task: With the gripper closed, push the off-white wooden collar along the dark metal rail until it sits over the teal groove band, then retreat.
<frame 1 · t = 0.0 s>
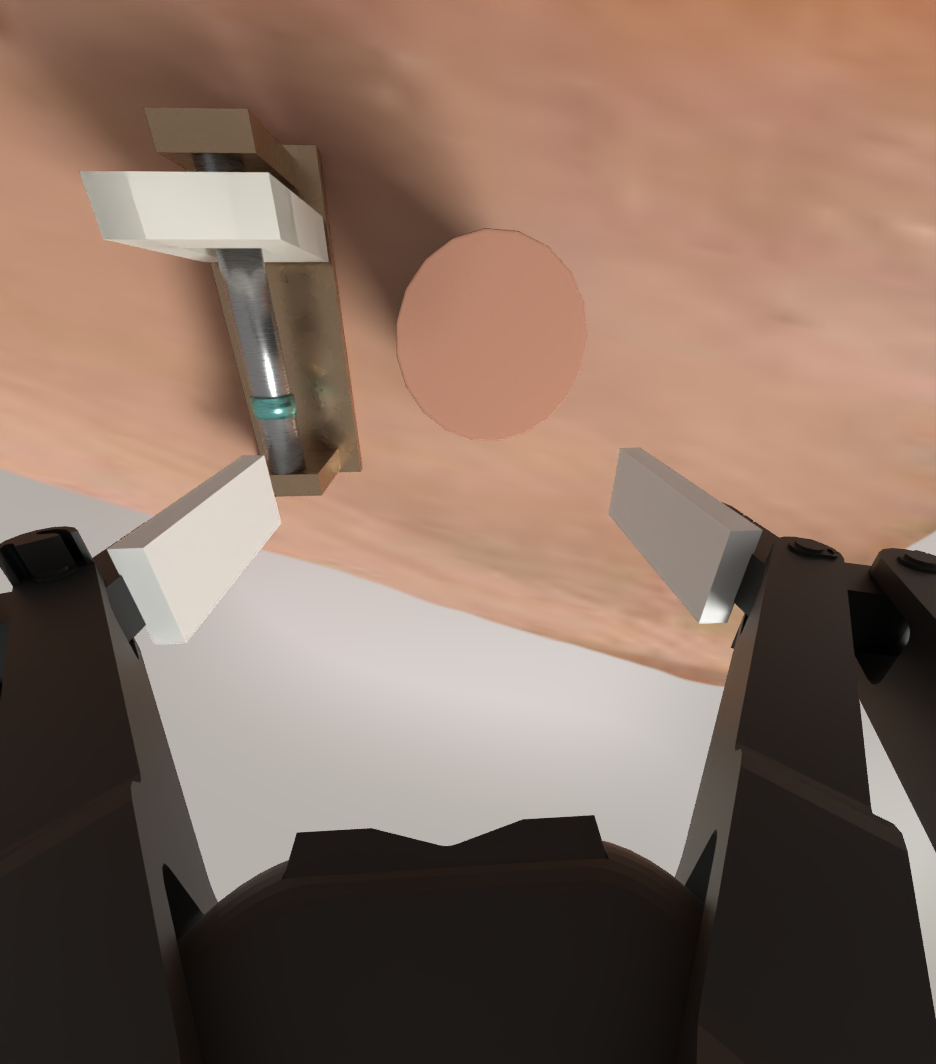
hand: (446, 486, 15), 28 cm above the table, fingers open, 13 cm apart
rail: (289, 335, 37), on the table
collar: (230, 226, 27), point 8 cm above the table, slide at -7.0 cm
coffee jar: (472, 334, 38), on the table
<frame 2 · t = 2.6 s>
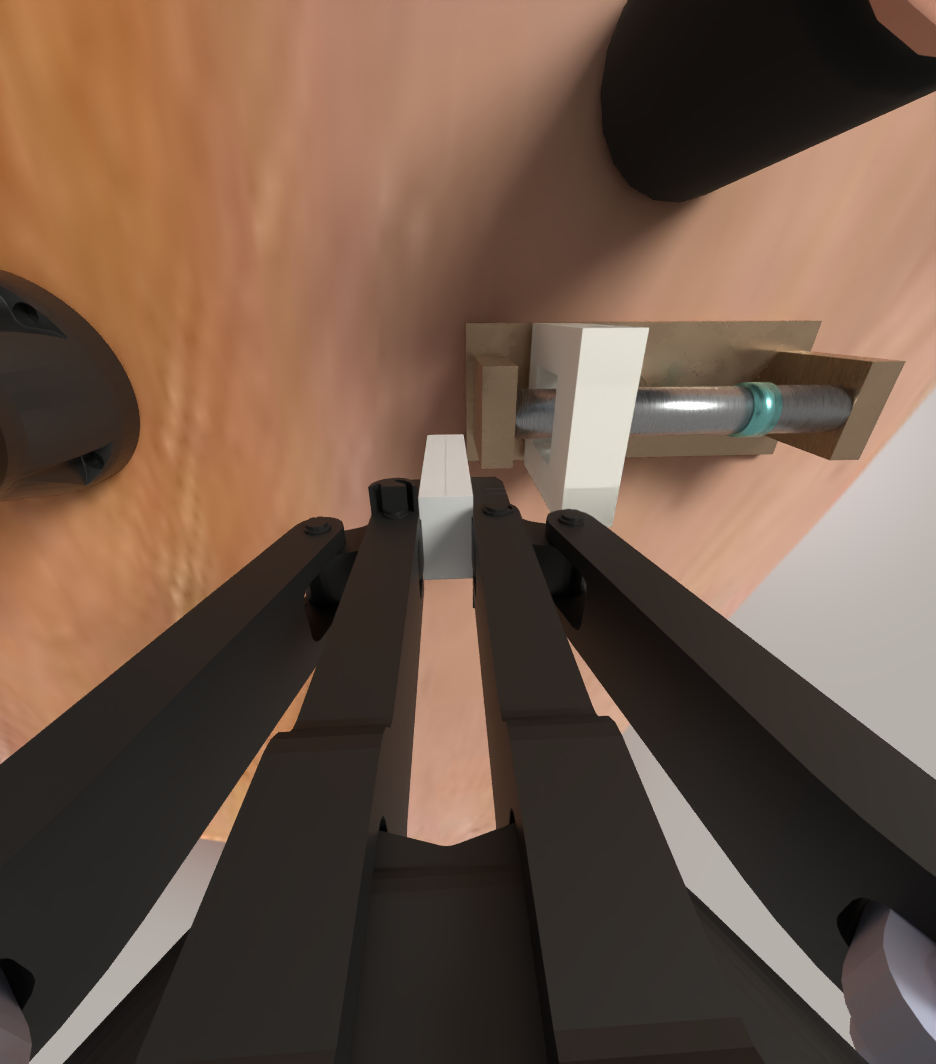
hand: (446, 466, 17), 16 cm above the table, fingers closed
rail: (629, 392, 32), on the table
collar: (568, 415, 25), point 8 cm above the table, slide at -7.0 cm
coffee jar: (680, 95, 24), on the table
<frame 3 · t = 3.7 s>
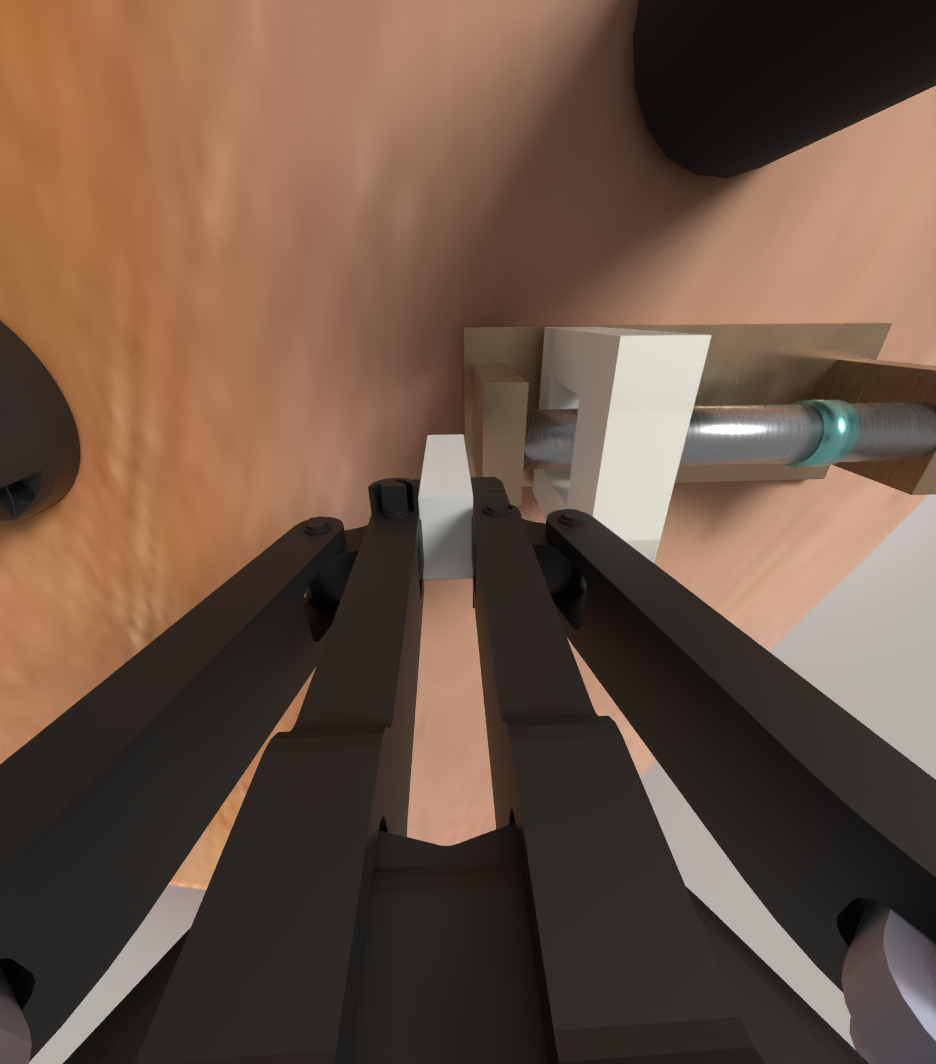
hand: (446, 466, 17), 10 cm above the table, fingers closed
rail: (657, 408, 27), on the table
collar: (590, 441, 20), point 8 cm above the table, slide at -7.0 cm
coffee jar: (731, 42, 19), on the table
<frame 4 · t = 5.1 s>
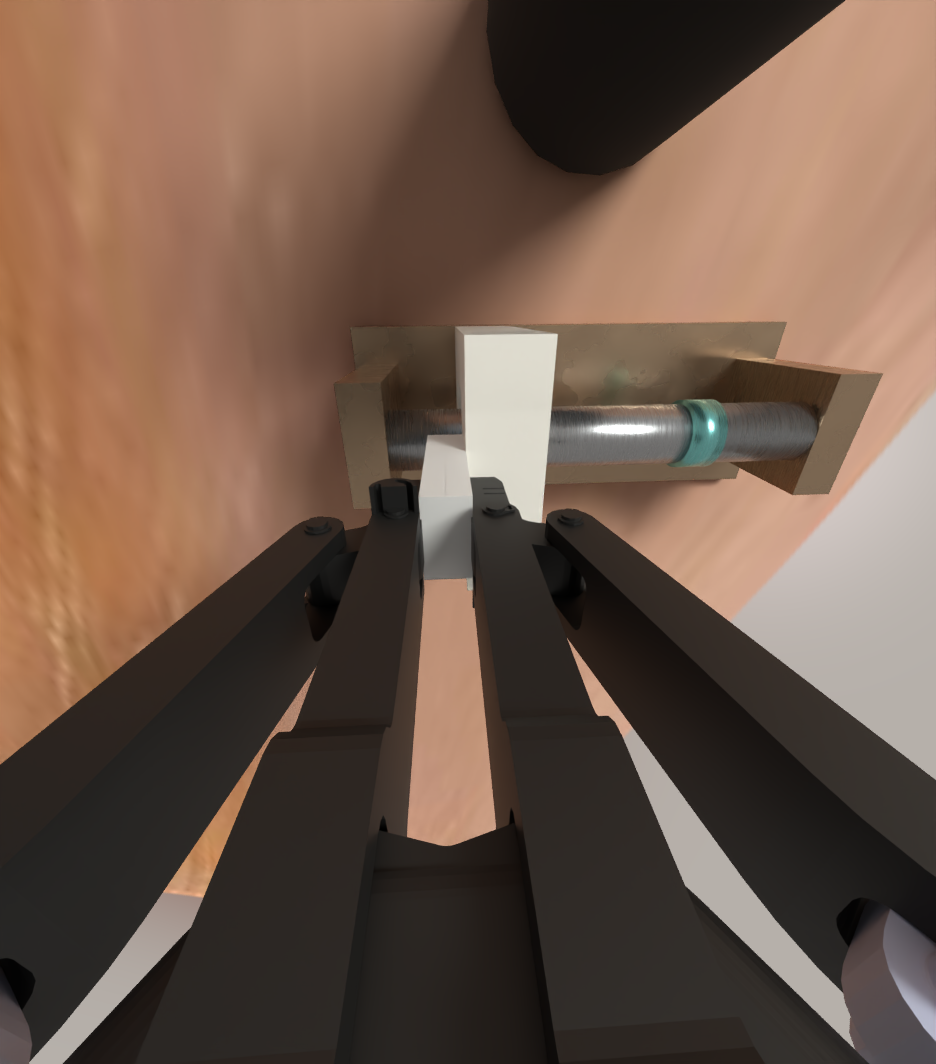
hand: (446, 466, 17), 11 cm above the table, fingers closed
rail: (560, 408, 27), on the table
collar: (490, 441, 20), point 8 cm above the table, slide at -5.5 cm, touching gripper
coffee jar: (595, 38, 19), on the table
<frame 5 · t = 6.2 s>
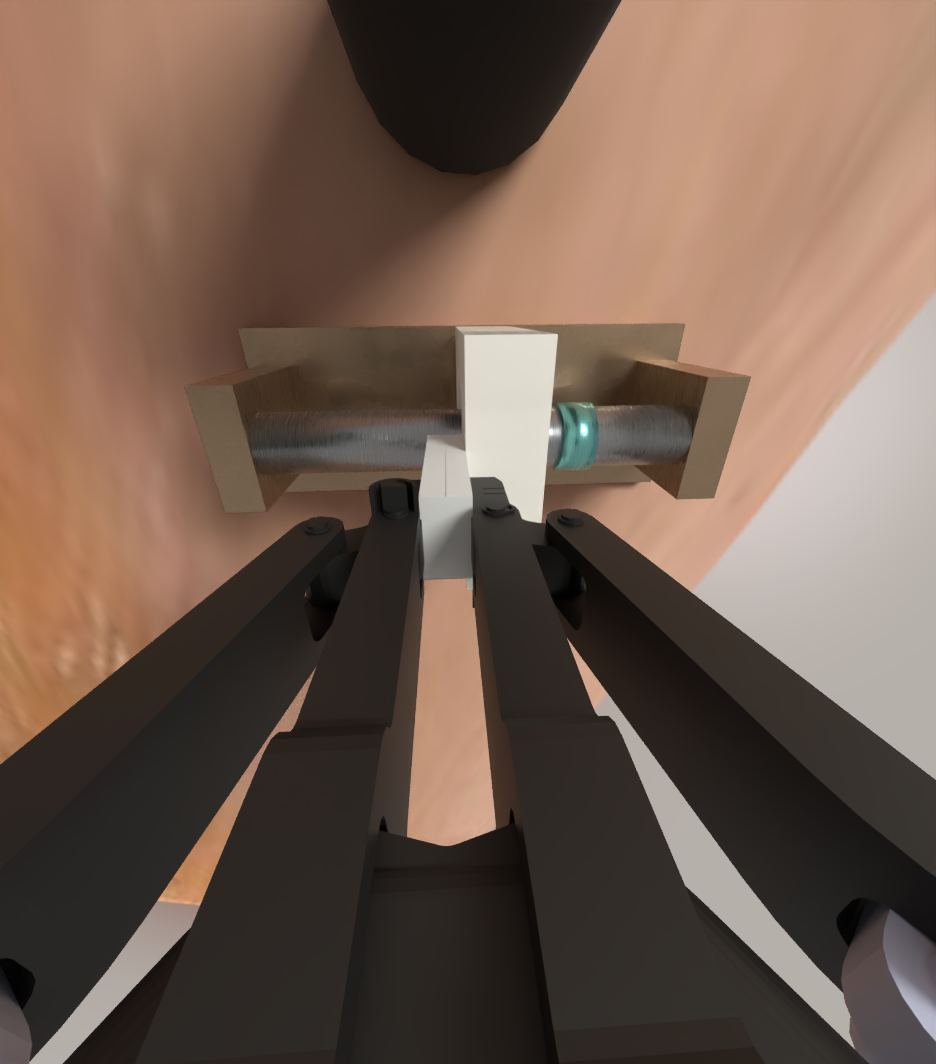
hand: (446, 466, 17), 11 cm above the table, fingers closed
rail: (466, 410, 27), on the table
collar: (490, 441, 20), point 8 cm above the table, slide at 0.8 cm, touching gripper
coffee jar: (463, 35, 19), on the table
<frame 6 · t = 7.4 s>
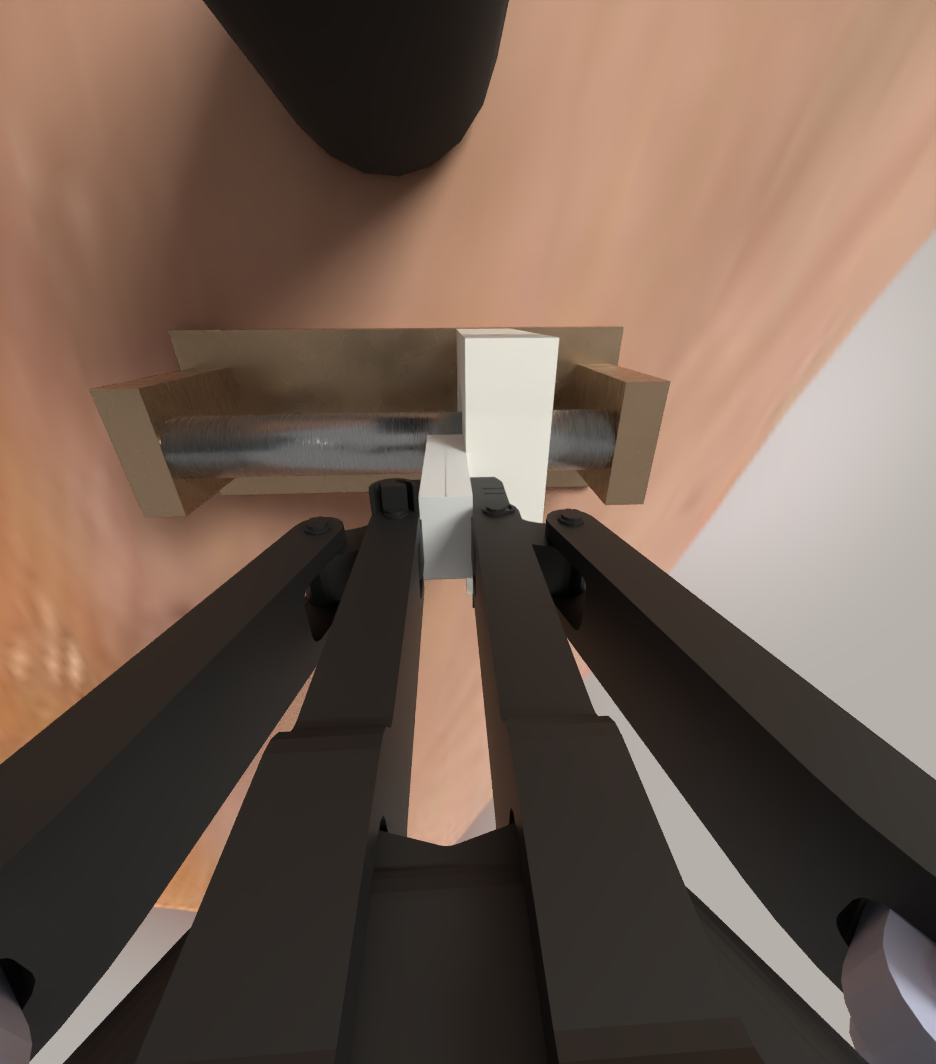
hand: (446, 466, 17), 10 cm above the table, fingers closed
rail: (409, 413, 26), on the table
collar: (491, 444, 20), point 8 cm above the table, slide at 4.6 cm, touching gripper
coffee jar: (381, 35, 18), on the table
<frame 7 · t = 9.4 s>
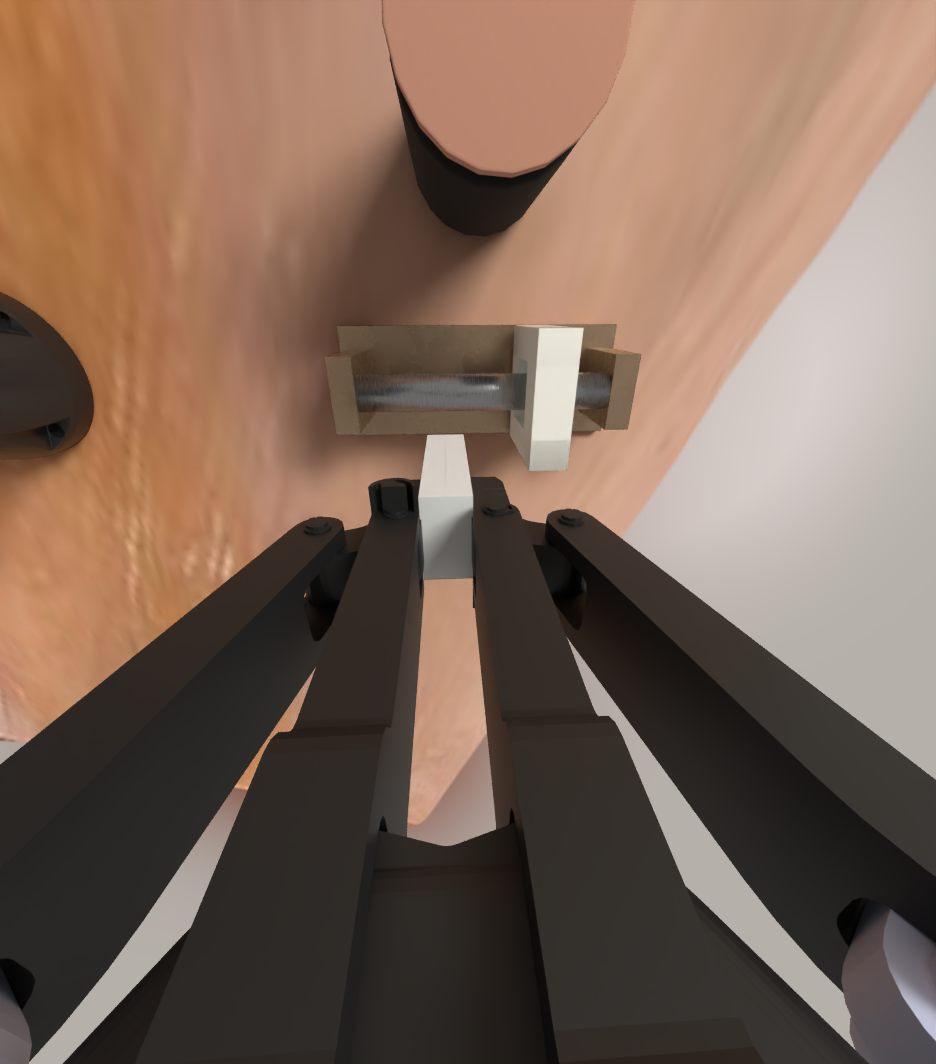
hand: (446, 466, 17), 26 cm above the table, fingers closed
rail: (477, 380, 40), on the table
collar: (538, 392, 34), point 8 cm above the table, slide at 4.7 cm
coffee jar: (478, 159, 33), on the table
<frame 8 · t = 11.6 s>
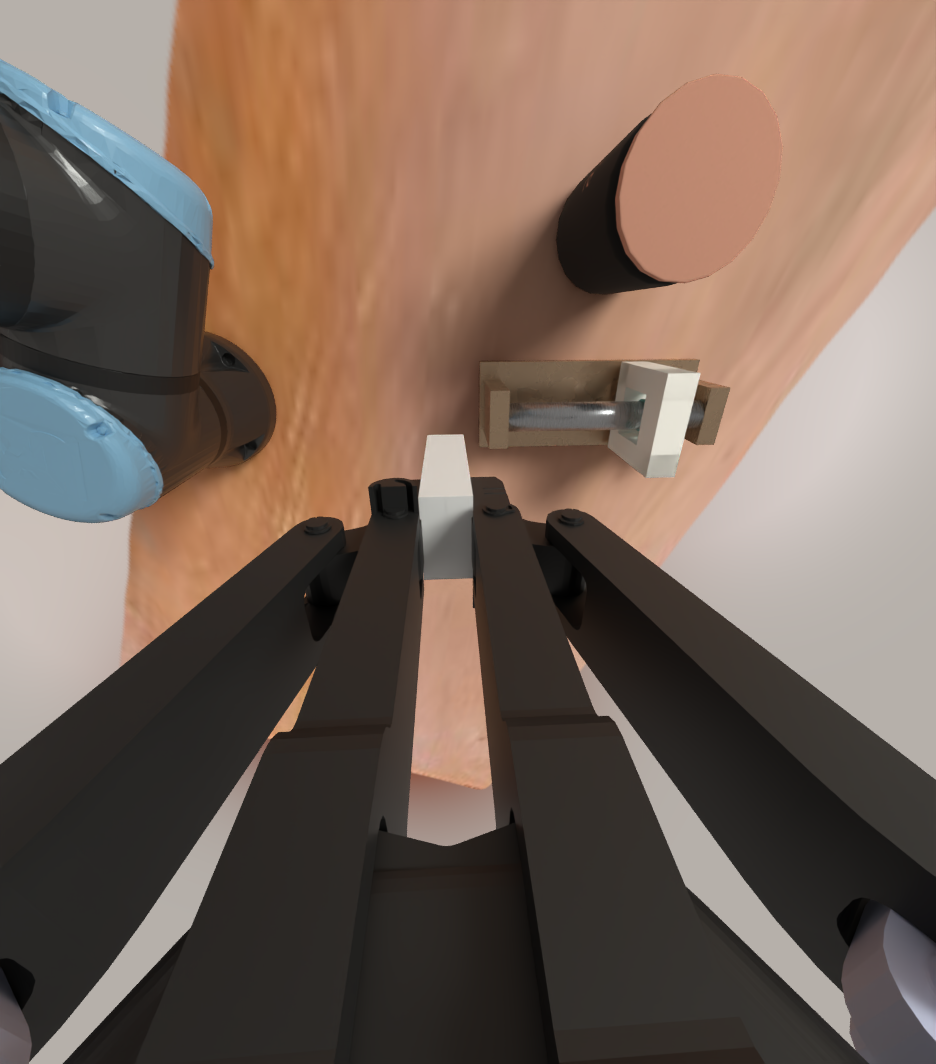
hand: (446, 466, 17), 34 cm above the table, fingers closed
rail: (583, 403, 50), on the table
collar: (646, 416, 44), point 7 cm above the table, slide at 4.7 cm
coffee jar: (603, 236, 42), on the table
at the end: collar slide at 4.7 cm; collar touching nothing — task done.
